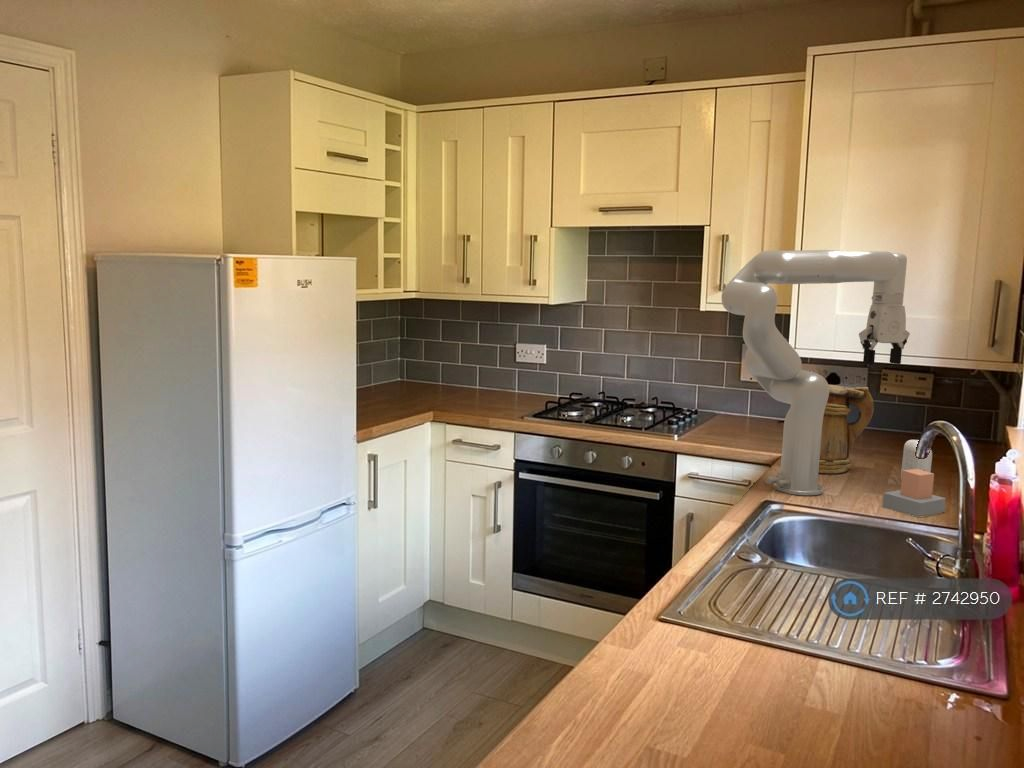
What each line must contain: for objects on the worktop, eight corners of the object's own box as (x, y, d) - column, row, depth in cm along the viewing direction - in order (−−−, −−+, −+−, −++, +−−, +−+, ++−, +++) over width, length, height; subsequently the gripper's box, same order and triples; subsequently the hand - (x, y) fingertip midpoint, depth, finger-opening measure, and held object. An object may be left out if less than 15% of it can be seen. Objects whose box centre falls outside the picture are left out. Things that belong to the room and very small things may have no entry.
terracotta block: (917, 499, 205) (919, 475, 204) (900, 493, 209) (902, 470, 208) (931, 497, 207) (934, 473, 206) (914, 492, 211) (917, 468, 210)
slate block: (919, 519, 202) (920, 503, 201) (882, 508, 210) (883, 492, 210) (944, 514, 207) (945, 498, 206) (907, 503, 215) (908, 488, 215)
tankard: (782, 457, 262) (788, 378, 258) (864, 464, 255) (871, 383, 252) (784, 471, 245) (790, 385, 241) (871, 479, 238) (879, 391, 235)
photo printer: (931, 489, 228) (935, 445, 227) (915, 489, 228) (919, 444, 227) (913, 480, 238) (917, 437, 237) (898, 479, 238) (902, 436, 237)
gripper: (875, 300, 218) (869, 366, 220) (922, 301, 225) (916, 364, 227) (852, 299, 225) (847, 363, 227) (899, 299, 232) (893, 361, 234)
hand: (881, 363), depth 227 cm, fingers open, 9 cm apart
